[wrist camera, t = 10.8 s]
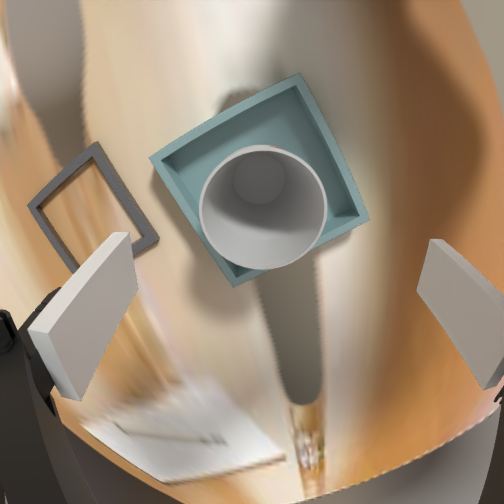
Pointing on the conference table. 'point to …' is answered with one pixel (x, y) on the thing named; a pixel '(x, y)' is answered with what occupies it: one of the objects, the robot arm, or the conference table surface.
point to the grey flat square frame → (117, 186)
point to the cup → (263, 207)
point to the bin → (262, 133)
